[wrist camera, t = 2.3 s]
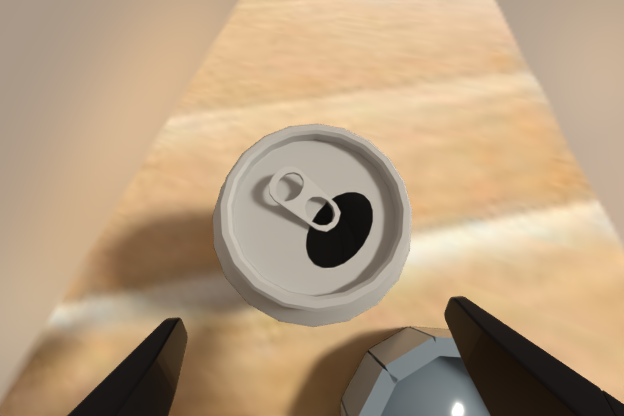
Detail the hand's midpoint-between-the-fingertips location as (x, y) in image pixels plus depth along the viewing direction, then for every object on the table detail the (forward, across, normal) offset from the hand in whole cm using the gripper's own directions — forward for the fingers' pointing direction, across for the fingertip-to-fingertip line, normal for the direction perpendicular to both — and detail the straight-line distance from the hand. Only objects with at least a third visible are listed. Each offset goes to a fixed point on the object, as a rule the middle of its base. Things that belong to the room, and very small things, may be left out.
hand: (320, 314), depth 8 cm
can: (+10, 0, +5) cm, 11 cm away
